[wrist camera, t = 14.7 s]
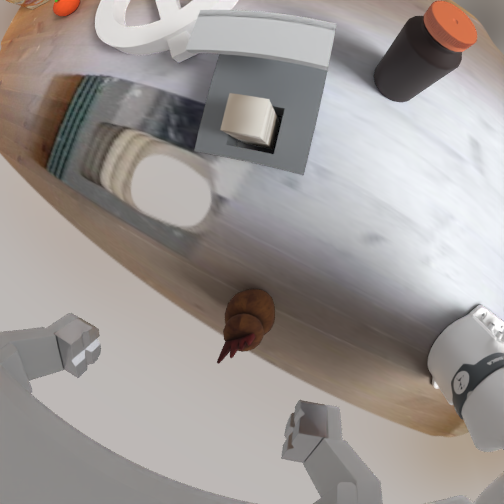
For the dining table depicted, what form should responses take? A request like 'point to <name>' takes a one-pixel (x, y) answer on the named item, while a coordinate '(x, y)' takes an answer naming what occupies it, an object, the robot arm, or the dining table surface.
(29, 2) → the coffeecake box
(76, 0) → the clementine
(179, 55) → the ring with crossbar
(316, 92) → the socket block
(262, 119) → the peg
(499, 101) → the dining table surface
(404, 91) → the bottle
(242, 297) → the wooden figurine
